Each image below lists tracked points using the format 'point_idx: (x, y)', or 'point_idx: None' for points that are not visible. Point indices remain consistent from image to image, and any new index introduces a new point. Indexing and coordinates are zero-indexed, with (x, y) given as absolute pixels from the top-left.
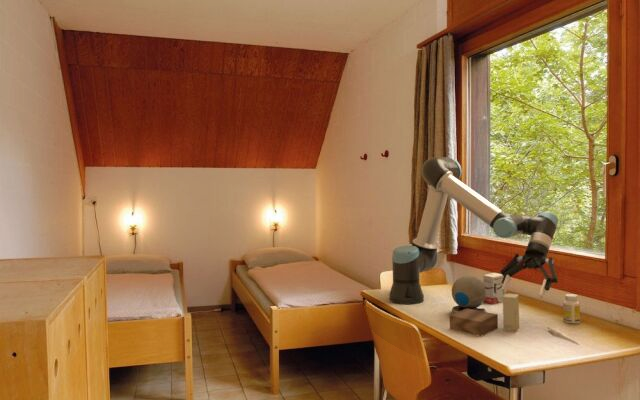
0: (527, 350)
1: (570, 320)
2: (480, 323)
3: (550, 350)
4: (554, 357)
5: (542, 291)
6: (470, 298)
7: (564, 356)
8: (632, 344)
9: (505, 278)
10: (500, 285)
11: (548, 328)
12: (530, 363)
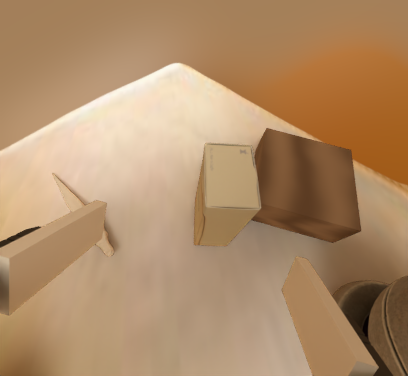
0: (161, 115)
1: None
2: (265, 130)
3: (121, 126)
4: (117, 102)
5: (81, 208)
6: (403, 277)
7: (99, 109)
8: None
9: (348, 322)
10: None
11: (111, 247)
12: (154, 76)
